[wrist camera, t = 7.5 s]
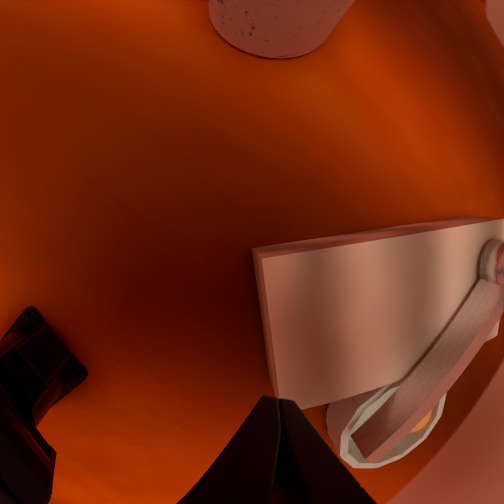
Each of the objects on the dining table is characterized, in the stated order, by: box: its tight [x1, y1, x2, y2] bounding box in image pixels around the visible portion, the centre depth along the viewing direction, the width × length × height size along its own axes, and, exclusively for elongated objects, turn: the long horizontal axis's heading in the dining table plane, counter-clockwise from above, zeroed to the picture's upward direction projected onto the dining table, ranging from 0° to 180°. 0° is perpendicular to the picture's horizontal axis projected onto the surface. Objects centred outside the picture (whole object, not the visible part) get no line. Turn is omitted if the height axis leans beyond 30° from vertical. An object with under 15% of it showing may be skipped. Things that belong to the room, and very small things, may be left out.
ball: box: [409, 409, 432, 433], centre depth 19 cm, size 4×4×4 cm
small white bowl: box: [326, 377, 446, 468], centre depth 20 cm, size 9×9×4 cm
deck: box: [252, 216, 504, 410], centre depth 18 cm, size 18×9×4 cm, turn 98°
